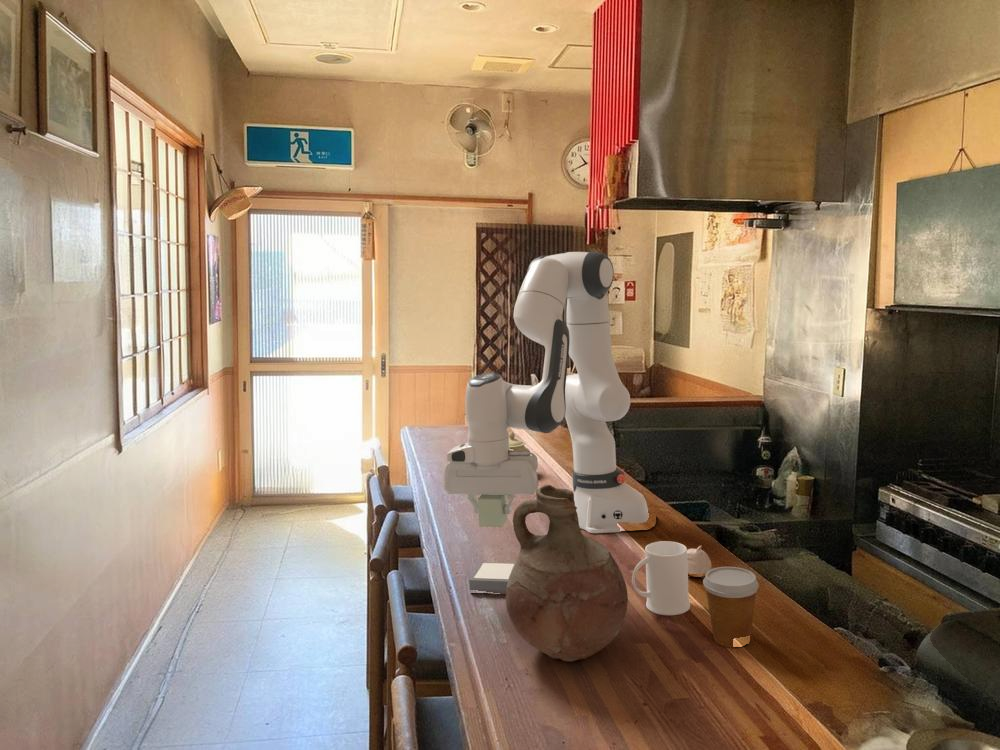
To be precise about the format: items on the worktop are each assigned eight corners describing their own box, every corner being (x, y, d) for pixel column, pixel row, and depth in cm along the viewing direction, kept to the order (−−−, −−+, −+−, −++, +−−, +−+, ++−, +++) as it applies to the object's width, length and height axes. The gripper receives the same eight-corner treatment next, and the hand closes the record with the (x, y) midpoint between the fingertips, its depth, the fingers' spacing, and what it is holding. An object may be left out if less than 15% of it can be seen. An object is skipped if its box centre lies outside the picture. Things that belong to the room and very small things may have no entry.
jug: (629, 685, 127) (621, 508, 123) (499, 681, 131) (487, 509, 127) (630, 624, 148) (624, 471, 144) (518, 622, 152) (509, 473, 148)
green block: (507, 519, 171) (505, 492, 170) (502, 526, 166) (500, 499, 165) (485, 518, 172) (483, 492, 171) (479, 526, 167) (477, 499, 166)
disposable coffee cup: (752, 657, 134) (750, 590, 132) (697, 646, 139) (695, 581, 137) (765, 633, 142) (764, 570, 140) (713, 623, 147) (711, 562, 145)
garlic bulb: (678, 580, 167) (677, 544, 166) (682, 569, 173) (681, 534, 171) (710, 583, 164) (709, 546, 163) (713, 571, 170) (712, 536, 169)
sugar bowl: (542, 479, 250) (539, 433, 248) (510, 485, 246) (507, 438, 244) (523, 469, 264) (520, 426, 262) (492, 474, 260) (489, 430, 258)
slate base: (525, 576, 174) (524, 562, 174) (515, 595, 165) (514, 581, 164) (481, 574, 177) (481, 561, 176) (470, 593, 167) (469, 579, 167)
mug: (640, 621, 149) (638, 561, 148) (624, 603, 158) (621, 546, 156) (697, 611, 152) (695, 552, 150) (678, 594, 160) (676, 538, 158)
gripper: (539, 447, 167) (543, 509, 169) (448, 447, 172) (452, 508, 174) (534, 454, 161) (537, 519, 163) (439, 454, 166) (444, 517, 168)
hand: (492, 513), depth 169 cm, fingers closed on green block, 5 cm apart
